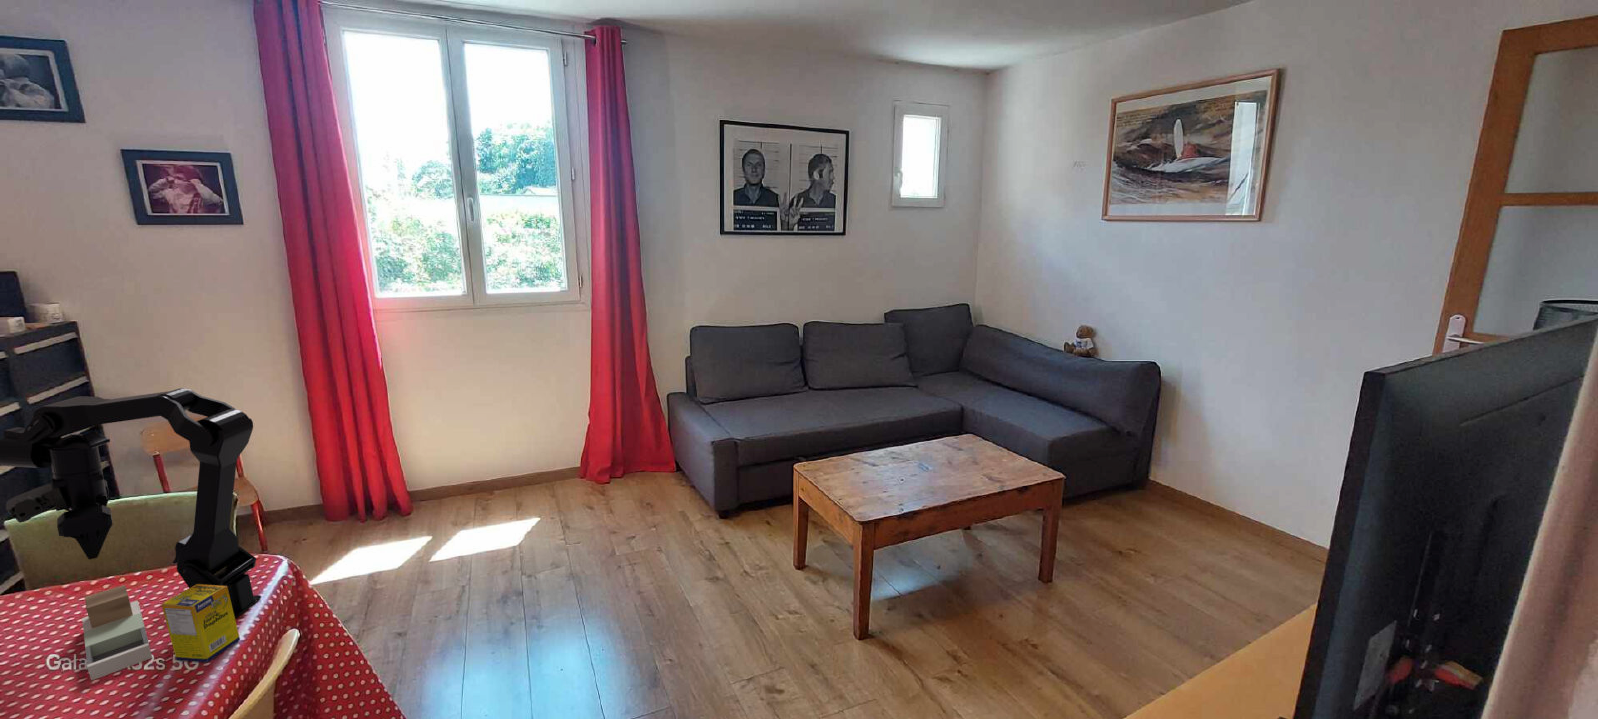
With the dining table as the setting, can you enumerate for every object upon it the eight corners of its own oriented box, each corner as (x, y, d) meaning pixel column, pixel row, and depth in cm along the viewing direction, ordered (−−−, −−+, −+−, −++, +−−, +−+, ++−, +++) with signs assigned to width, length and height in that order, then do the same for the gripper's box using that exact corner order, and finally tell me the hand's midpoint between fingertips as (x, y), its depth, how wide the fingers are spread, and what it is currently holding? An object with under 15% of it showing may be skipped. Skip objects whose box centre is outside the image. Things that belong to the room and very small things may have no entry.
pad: (87, 644, 111) (83, 631, 110) (144, 624, 116) (140, 612, 115) (89, 659, 107) (85, 646, 106) (147, 638, 112) (144, 626, 111)
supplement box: (241, 640, 112) (228, 584, 109) (207, 663, 106) (192, 606, 103) (210, 637, 112) (197, 582, 110) (175, 661, 107) (160, 603, 104)
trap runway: (84, 622, 116) (81, 610, 116) (139, 604, 122) (135, 592, 121) (91, 680, 102) (87, 667, 102) (152, 657, 107) (148, 644, 107)
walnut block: (90, 616, 114) (84, 596, 113) (130, 603, 118) (125, 584, 117) (92, 628, 111) (86, 608, 110) (132, 614, 114) (127, 595, 114)
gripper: (8, 462, 112) (25, 541, 116) (1, 500, 101) (21, 587, 104) (101, 448, 121) (114, 523, 124) (105, 482, 109) (119, 563, 112)
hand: (92, 547), depth 116 cm, fingers open, 9 cm apart
